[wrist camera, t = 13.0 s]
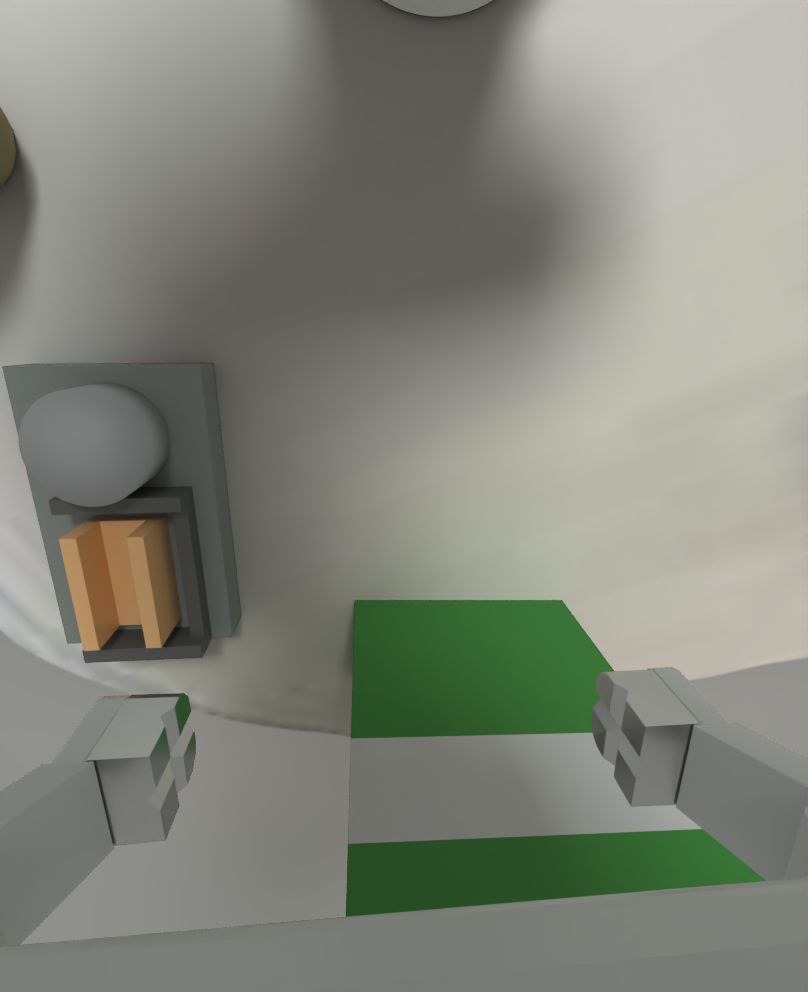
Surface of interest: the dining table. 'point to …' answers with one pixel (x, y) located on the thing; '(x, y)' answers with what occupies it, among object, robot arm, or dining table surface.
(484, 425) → the dining table surface
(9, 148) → the squeeze bottle
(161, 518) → the chute
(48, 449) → the panel with grey ball
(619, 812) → the hardback book
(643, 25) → the dining table surface
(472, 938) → the robot arm
